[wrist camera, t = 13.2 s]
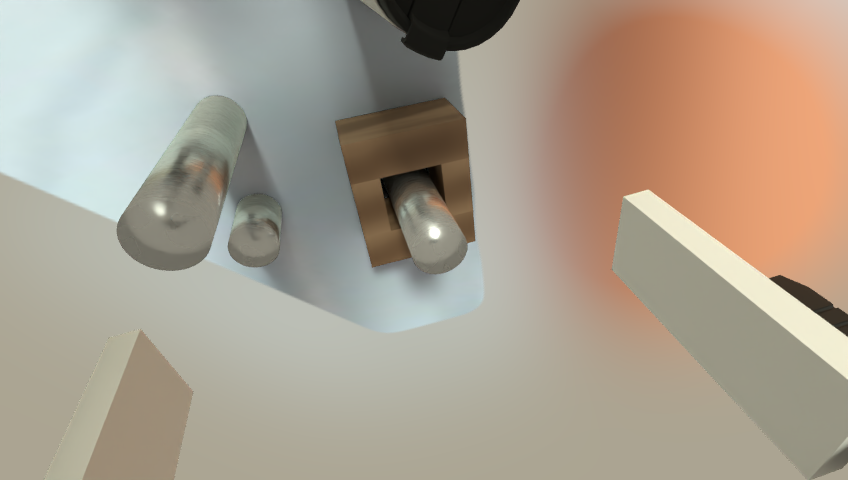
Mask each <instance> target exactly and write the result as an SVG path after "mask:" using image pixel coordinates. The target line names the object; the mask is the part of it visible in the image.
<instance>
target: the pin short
mask: <svg viewBox="0 0 848 480" xmlns="http://www.w3.org/2000/svg"><path fill="white" fill-rule="evenodd" d="M281 218H282V210H281V207H280V205H279V204H278V202H277V201H276V200H275V199H273V198H272V197H270V196H268V195H265V194H251V195H248V196H246V197H244V198H243V199H242V200H241V201H240V202H239V203H238V205H237V209H236V213H235V217H234V221H233V225H232V230H231V234H230V238H229V242H228V251H229V253H230V255H231V257H232V258H233V259H234V260H235V261H236V262H238V263H240V264H242V265H244V266H248V267H262V266H266V265H268V264H270V263H271V262H273V261H274V260H275V259H276V258H277V256H278V254H279V250H280V235H281Z"/></svg>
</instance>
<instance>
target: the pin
mask: <svg viewBox="0 0 848 480" xmlns="http://www.w3.org/2000/svg"><path fill="white" fill-rule="evenodd" d="M382 179H383V181H384V184H385V186H386V189H387V192H388V194H389V197H390V200H391V202H392V205H393V208H394V210H395V213H396V216H397V218H398V221H399V224H400V226H401V229H402V232H403V234H404V237H405V239H406V242H407V245H408V247H409V250H410V253H411V255H412V258H413V261H414V263H415V265H416V266H417V267H418V268H419V269H420V270H421V271H423V272H425V273H429V274H441V273H445V272H448V271H450V270H452V269H454V268H455V267H456V266H458V265H459V264H460V263H461V261H462V260H463V259H464V257H465V255H466V252H467V241H466V238H465V236H464V235H463V233H462V231H461V229H460V228H459V226H458V224H457V223H456V221H455V219H454V218H453V216H452V214H451V213H450V211H449V209H448V207H447V206H446V204H445V202H444V201H443V199H442V197H441V196H440V194H439V192H438V191H437V189H436V187H435V185H434V184H433V182H432V180H431V179H430V177H429V175H428V174H427V172H426V170H425V169H424V168H423V169H419V170H414V171H410V172H406V173H401V174H397V175H393V176H388V177H384V178H382Z"/></svg>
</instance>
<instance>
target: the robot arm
mask: <svg viewBox="0 0 848 480" xmlns="http://www.w3.org/2000/svg"><path fill="white" fill-rule="evenodd" d="M612 270H613V271H614V272H615V273H616V275H617V276H618V277H619V278H620V279H621V280H622V281H623V282H624V283H625V284H626V285H627V286H628V288H629V289H630V290H631V291H632V292H633V293H634V294H635V295H636V296H637V297H638V298H639V299H640V300H641V301H642V302H643V304H644V305H645V306H646V307H647V308H648V309H649V310H650V311H651V312H652V313H653V314H654V315H655V317H656V318H658V320H659V321H660V322H661V323H662V324H663V325H664V326H665V327H666V328H667V329H668V331H669V332H670V333H671V334H672V335H673V336H674V337H675V338H676V339H677V340H678V341H679V342H680V343H681V345H682V346H683V347H684V348H685V349H686V350H687V351H688V352H689V353H690V354H691V355H692V356H693V357H694V359H695V360H697V362H698V363H699V364H700V365H701V366H702V367H703V368H704V369H705V370H706V371H707V373H708V374H709V375H710V376H711V377H712V378H713V379H714V380H715V381H716V382H717V383H718V384H719V385H720V386H721V388H722V389H723V390H725V392H726V393H727V394H728V395H729V396H730V397H731V398H732V399H733V400H734V402H736V404H737V405H738V406H739V407H740V408H741V409H742V410H743V411H744V412H745V413H746V414H747V415H748V417H749V418H750V419H751V420H752V421H753V422H754V423H755V424H756V425H757V426H758V427H759V428H760V430H762V432H763V433H764V434H765V435H766V436H767V437H768V438H769V439H770V440H771V441H772V442H773V444H774V445H775V446H776V447H777V448H778V449H779V450H780V451H781V452H782V453H783V454H784V455H785V456H786V458H787V459H788V460H789V461H790V462H791V463H792V464H793V465H794V466H795V467H796V468H797V469H798V470H799V472H800V473H802V475H803V476H804V477H805V478H806V479H807V480H811V479H814V478H817V477H820V476H822V475H825V474H828V473H830V472H833V471H836V470H839V469H842V468H843V467H844V466H845V465H846V464H847V463H848V314H846V313H845V312H843V311H842V310H841V309H839V308H834V307H833V304H832V303H831V302H829V301H827V300H826V299H825V298H823V297H822V296H820V295H819V294H818V293H816V292H815V291H813V290H812V289H810V288H809V287H807V286H805V285H802V284H800V283H798V282H795V281H793V280H790V279H788V278H786V277H783V276H781V275H778V276H775V277H772V278H767V277H766V276H764V275H763V274H762V273H760V272H759V271H758V270H756V269H755V268H754V267H752V266H751V265H750V264H748V263H747V262H745V261H744V260H743V259H741V258H740V257H739V256H737V255H736V254H735V253H733V252H732V251H731V250H729V249H728V248H727V247H725V246H724V245H723V244H721V243H720V242H718V241H717V240H716V239H714V238H713V237H712V236H710V235H709V234H708V233H706V232H705V231H704V230H702V229H701V228H699V227H698V226H697V225H695V224H694V223H693V222H691V221H690V220H689V219H687V218H686V217H685V216H683V215H682V214H680V213H679V212H678V211H676V210H675V209H674V208H672V207H671V206H670V205H668V204H667V203H666V202H664V201H663V200H662V199H660V198H659V197H657V196H656V195H655V194H653V193H652V192H651V191H649V190H646V191H642V192H639V193H635V194H631V195H628V196H624V197H623V202H622V209H621V215H620V221H619V227H618V234H617V240H616V246H615V252H614V259H613V265H612ZM192 395H193V391H192V389H191V388H190V387H189V386H188V385H187V384H186V382H185V381H184V380H183V379H182V378H181V376H180V375H179V374H178V373H177V372H176V370H175V369H174V368H173V367H172V366H171V365H170V364H169V362H168V361H167V360H166V359H165V357H164V356H163V355H162V354H161V353H160V351H159V350H158V349H157V348H156V347H155V346H154V344H153V343H152V342H151V341H150V340H149V338H148V337H147V336H146V335H145V334H144V333H143V331H142V330H141V329H138V330H135V331H131V332H127V333H124V334H120V335H117V336H113V337H109V338H108V340H107V342H106V345H105V347H104V349H103V351H102V353H101V356H100V358H99V360H98V362H97V364H96V366H95V369H94V371H93V373H92V375H91V377H90V380H89V382H88V384H87V386H86V388H85V391H84V393H83V395H82V397H81V399H80V401H79V404H78V406H77V408H76V410H75V412H74V415H73V417H72V419H71V421H70V423H69V425H68V428H67V430H66V432H65V434H64V436H63V439H62V441H61V443H60V445H59V447H58V450H57V452H56V454H55V456H54V458H53V461H52V463H51V465H50V467H49V469H48V471H47V474H46V476H45V478H44V480H174V477H175V472H176V468H177V463H178V459H179V454H180V449H181V445H182V440H183V435H184V431H185V427H186V422H187V418H188V413H189V409H190V404H191V399H192Z"/></svg>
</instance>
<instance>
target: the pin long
mask: <svg viewBox="0 0 848 480" xmlns="http://www.w3.org/2000/svg"><path fill="white" fill-rule="evenodd" d="M246 128H247V119H246V115H245V113H244V111H243V110H242V108H241V107H240V106H239V105H238V104H237V103H236V102H234V101H233V100H231V99H229V98H227V97H224V96H218V95H214V96H208V97H206V98H204V99H202V100H201V101H200V102H199V103H198V104H197V105H196V107H195V108H194V110H193V111H192V113H191V114H190V115H189V117H188V118H187V120H186V121H185V123H184V124H183V126H182V127H181V129H180V130H179V132H178V133H177V135H176V136H175V138H174V139H173V141H172V142H171V143H170V145H169V146H168V148H167V149H166V151H165V152H164V154H163V155H162V157H161V158H160V160H159V161H158V163H157V164H156V166H155V167H154V169H153V170H152V172H151V173H150V174H149V176H148V177H147V179H146V180H145V182H144V183H143V185H142V186H141V188H140V189H139V191H138V192H137V194H136V195H135V197H134V198H133V200H132V201H131V202H130V204H129V205H128V207H127V208H126V210H125V211H124V213H123V214H122V216H121V217H120V219H119V222H118V224H117V236H118V240H119V242H120V244H121V246H122V248H123V249H124V250H125V251H126V253H128V254H129V256H131V257H132V258H133V259H135V260H136V261H138V262H139V263H141V264H143V265H146V266H148V267H151V268H154V269H159V270H167V271H175V270H182V269H187V268H190V267H192V266H194V265H196V264H198V263H199V262H201V261H202V260H203V259H204V258H205V257H206V256H207V254H208V252H209V250H210V248H211V244H212V241H213V238H214V234H215V231H216V228H217V224H218V221H219V218H220V214H221V211H222V208H223V204H224V201H225V198H226V195H227V191H228V188H229V185H230V181H231V178H232V175H233V171H234V168H235V165H236V161H237V158H238V155H239V151H240V148H241V145H242V141H243V138H244V135H245V131H246Z"/></svg>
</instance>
